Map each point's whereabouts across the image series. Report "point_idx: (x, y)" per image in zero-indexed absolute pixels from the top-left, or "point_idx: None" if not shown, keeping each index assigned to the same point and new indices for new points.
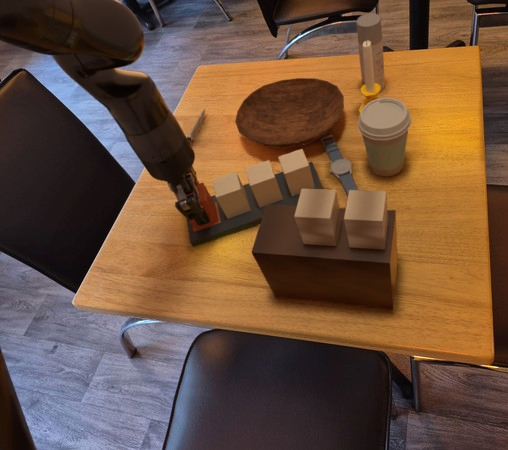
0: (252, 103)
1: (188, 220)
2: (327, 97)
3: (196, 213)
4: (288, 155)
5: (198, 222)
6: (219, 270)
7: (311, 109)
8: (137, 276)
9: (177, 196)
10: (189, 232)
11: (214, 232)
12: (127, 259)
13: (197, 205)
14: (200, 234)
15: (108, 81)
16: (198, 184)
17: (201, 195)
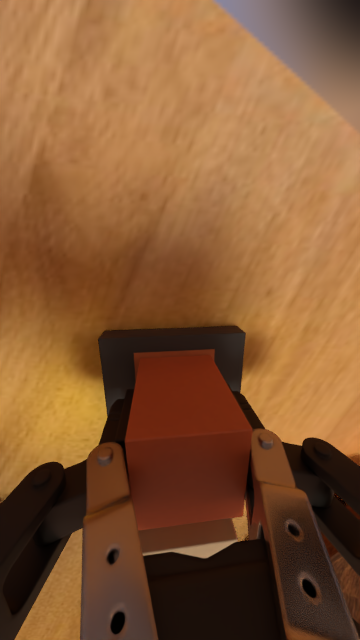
0: None
1: (22, 480)
2: (354, 617)
3: (35, 535)
4: None
5: (108, 417)
6: (10, 387)
7: (349, 572)
8: (40, 136)
9: (84, 620)
10: (136, 340)
11: (111, 404)
12: (127, 99)
13: (17, 626)
14: (117, 370)
15: None
16: (240, 502)
17: (170, 514)
